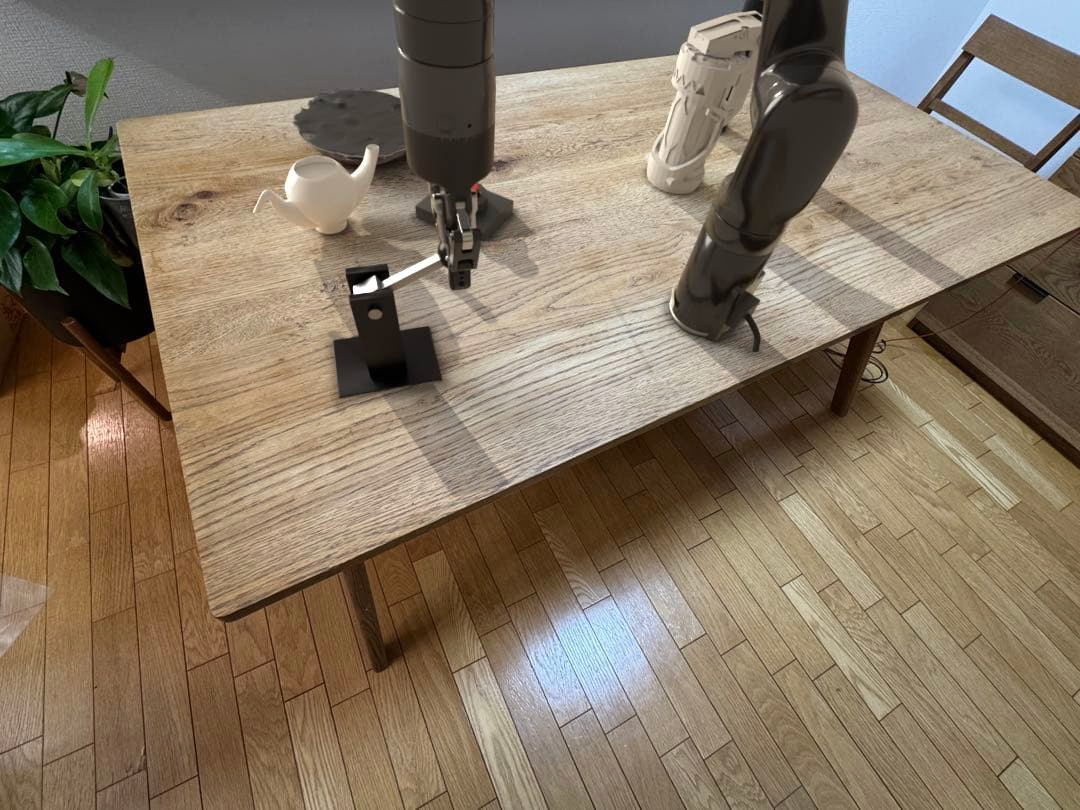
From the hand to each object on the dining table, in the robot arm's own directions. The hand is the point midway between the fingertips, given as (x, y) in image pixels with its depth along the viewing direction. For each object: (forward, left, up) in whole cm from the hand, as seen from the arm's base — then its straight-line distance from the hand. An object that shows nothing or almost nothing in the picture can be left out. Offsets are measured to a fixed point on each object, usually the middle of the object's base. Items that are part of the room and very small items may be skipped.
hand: (455, 273), depth 56 cm
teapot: (+32, -1, -14) cm, 35 cm away
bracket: (+4, +8, -13) cm, 16 cm away
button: (+22, -19, -10) cm, 31 cm away
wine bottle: (+16, -80, -14) cm, 83 cm away
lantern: (+8, -58, -14) cm, 60 cm away
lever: (+2, +3, -1) cm, 4 cm away
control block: (+22, -19, -13) cm, 32 cm away
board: (+47, -17, -14) cm, 52 cm away
